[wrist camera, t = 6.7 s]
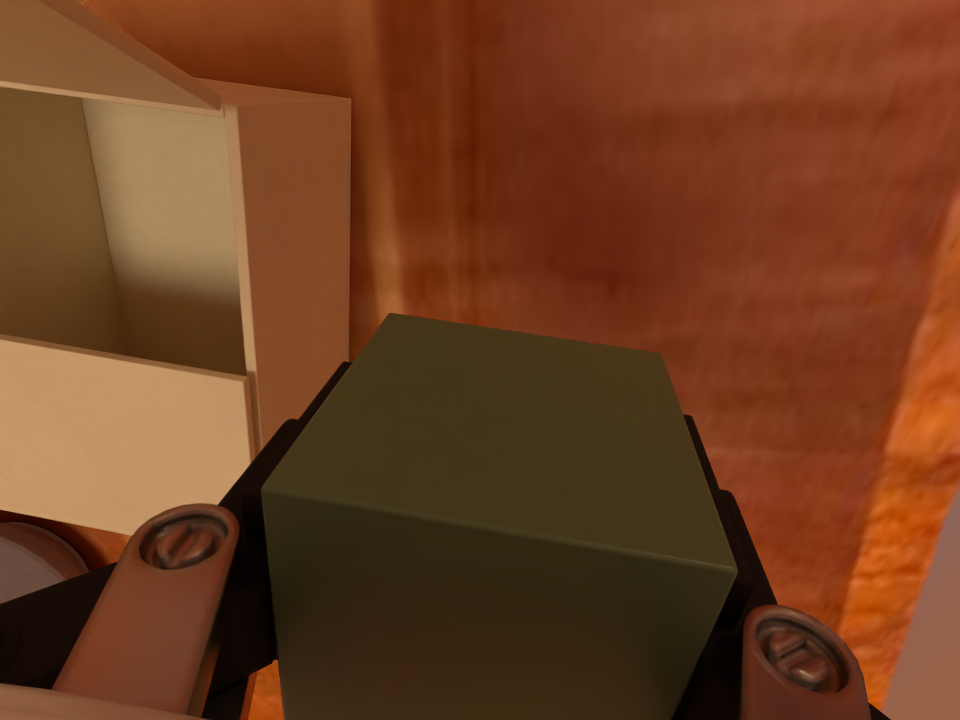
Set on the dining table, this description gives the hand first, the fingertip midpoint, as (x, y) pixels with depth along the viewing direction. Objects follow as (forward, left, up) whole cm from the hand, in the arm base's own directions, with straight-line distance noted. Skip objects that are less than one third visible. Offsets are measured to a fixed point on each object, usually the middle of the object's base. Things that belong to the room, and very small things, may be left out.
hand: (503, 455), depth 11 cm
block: (0, 0, 0) cm, 0 cm away
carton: (+10, -12, -17) cm, 23 cm away
